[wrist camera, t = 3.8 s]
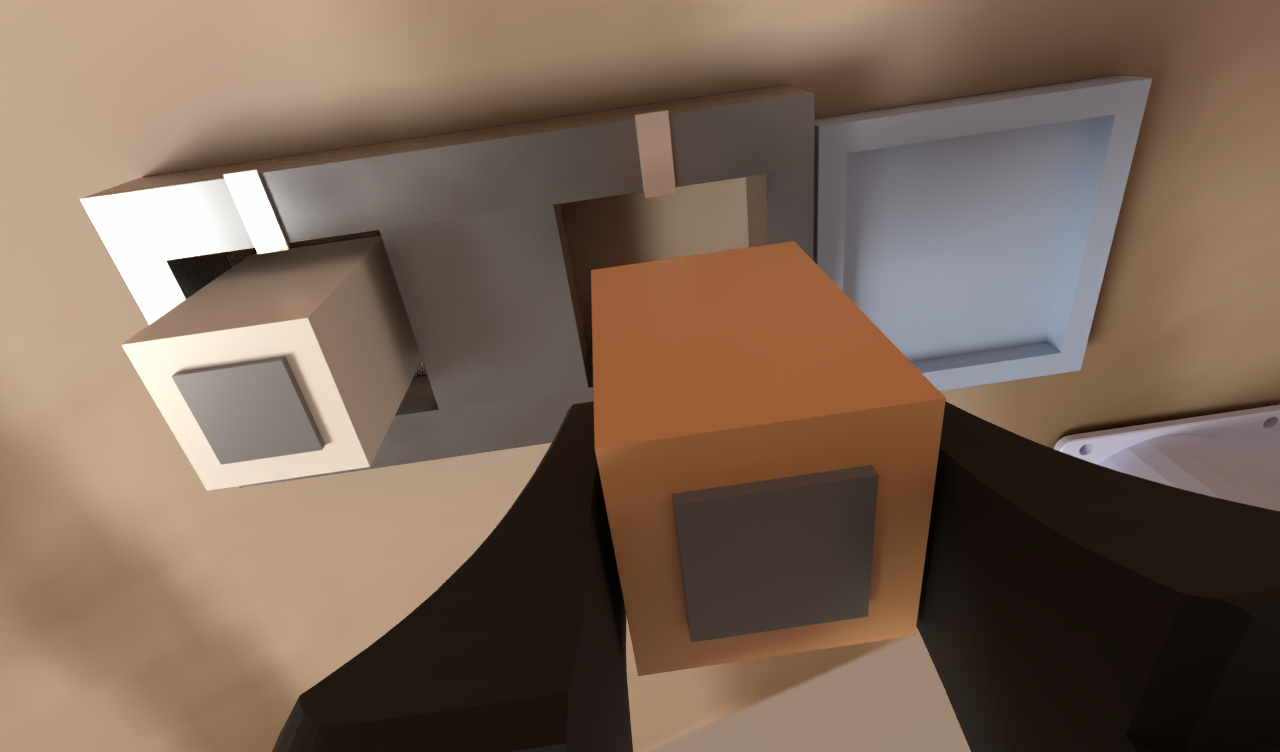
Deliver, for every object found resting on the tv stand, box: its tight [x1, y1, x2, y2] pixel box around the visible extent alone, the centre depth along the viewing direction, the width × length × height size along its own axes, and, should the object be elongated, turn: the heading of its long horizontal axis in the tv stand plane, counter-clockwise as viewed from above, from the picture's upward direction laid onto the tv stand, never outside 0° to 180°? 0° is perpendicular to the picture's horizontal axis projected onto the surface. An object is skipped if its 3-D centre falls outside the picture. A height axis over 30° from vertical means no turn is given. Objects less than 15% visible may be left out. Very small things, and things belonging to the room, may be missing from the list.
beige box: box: [122, 236, 422, 491], centre depth 17 cm, size 4×4×6 cm
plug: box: [591, 241, 946, 676], centre depth 11 cm, size 4×4×6 cm
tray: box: [813, 75, 1152, 391], centre depth 20 cm, size 9×9×1 cm
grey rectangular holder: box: [80, 84, 815, 488], centre depth 19 cm, size 18×9×2 cm, turn 97°
